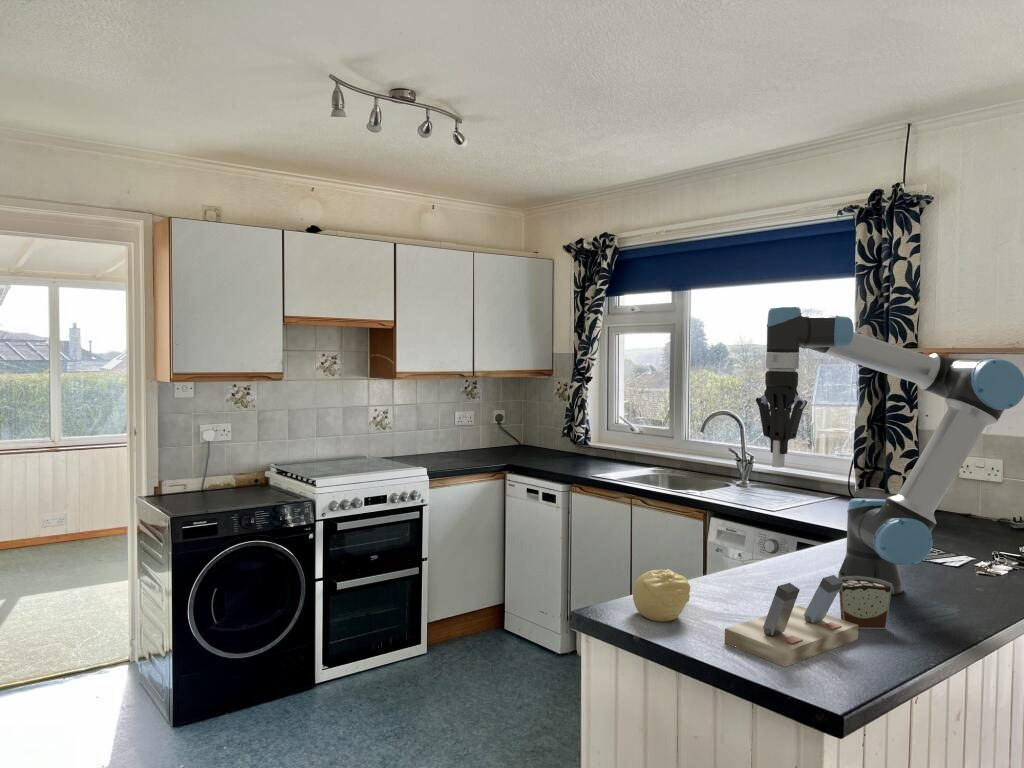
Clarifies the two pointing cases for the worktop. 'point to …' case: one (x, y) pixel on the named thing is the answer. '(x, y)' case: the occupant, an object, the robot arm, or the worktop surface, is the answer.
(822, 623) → the switch board
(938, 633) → the worktop surface
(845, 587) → the food container
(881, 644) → the worktop surface
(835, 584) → the lever
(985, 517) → the worktop surface
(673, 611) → the pale yellow wrinkled ball
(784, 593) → the lever
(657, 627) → the worktop surface
